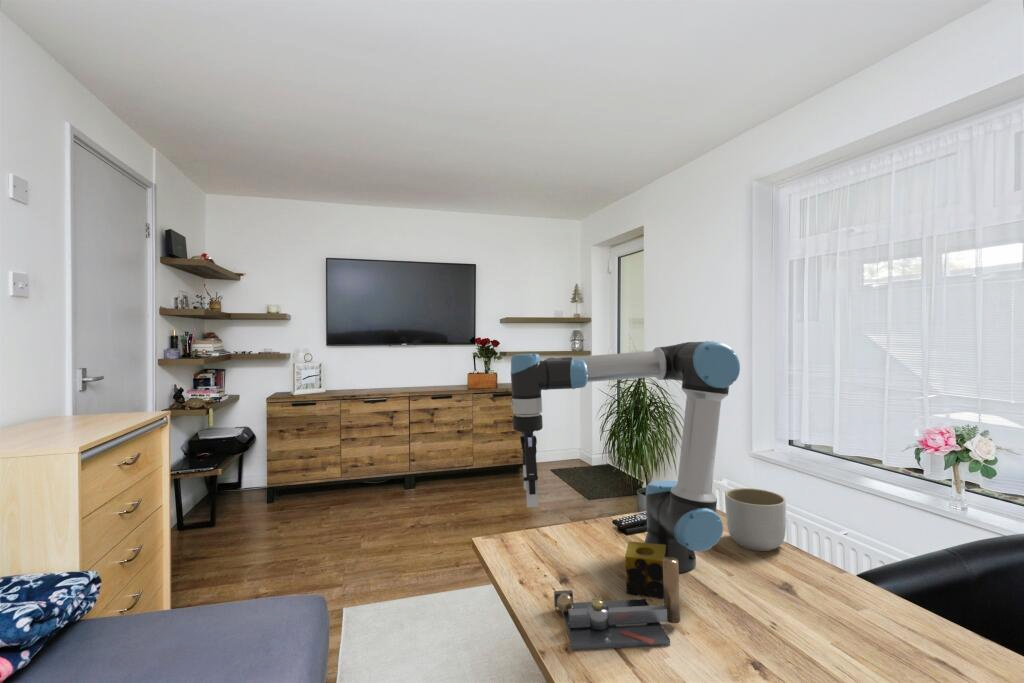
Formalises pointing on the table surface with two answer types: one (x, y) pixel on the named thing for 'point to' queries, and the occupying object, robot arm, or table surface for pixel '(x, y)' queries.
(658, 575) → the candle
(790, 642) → the table surface
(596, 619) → the lever
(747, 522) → the planter
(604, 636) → the base
